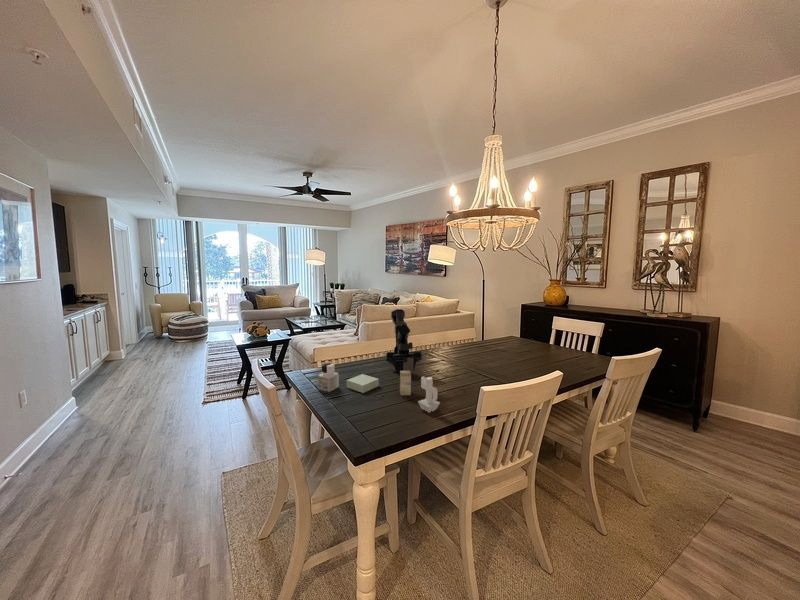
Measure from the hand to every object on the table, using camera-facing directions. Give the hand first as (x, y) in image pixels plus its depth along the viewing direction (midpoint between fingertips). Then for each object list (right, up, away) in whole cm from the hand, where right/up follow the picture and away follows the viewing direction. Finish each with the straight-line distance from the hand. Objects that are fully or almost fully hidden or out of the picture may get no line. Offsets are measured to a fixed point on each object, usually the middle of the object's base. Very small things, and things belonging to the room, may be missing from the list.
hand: (404, 371), depth 172 cm
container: (-40, -10, +4) cm, 41 cm away
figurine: (+11, -13, -21) cm, 27 cm away
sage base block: (-22, -10, +6) cm, 25 cm away
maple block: (0, -11, -2) cm, 11 cm away
